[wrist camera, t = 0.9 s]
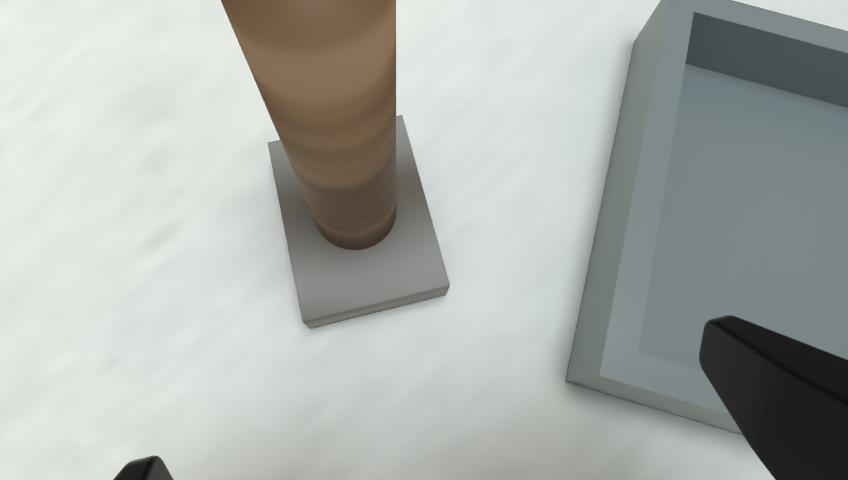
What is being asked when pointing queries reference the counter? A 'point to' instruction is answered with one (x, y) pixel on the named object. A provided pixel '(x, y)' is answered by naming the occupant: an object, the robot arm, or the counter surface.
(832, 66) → the tray
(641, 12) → the counter surface
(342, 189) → the brown post on plinth
